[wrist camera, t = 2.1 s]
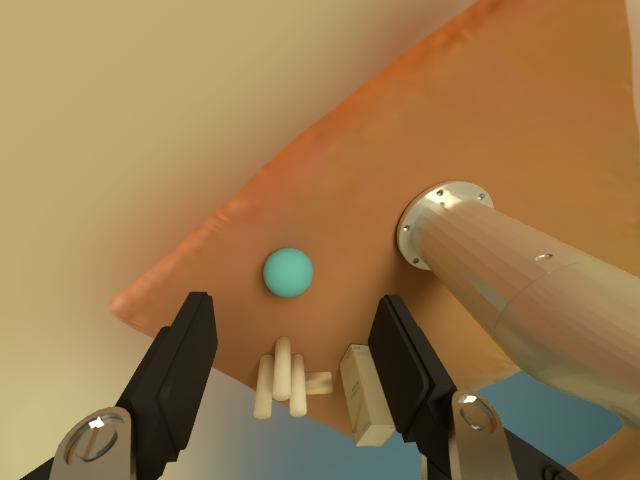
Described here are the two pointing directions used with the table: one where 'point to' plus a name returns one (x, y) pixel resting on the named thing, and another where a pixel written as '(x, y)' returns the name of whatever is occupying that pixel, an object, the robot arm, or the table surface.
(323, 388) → the back rail
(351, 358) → the skincare box
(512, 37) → the table surface
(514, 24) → the table surface
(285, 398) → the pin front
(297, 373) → the pin
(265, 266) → the ball
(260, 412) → the pin
